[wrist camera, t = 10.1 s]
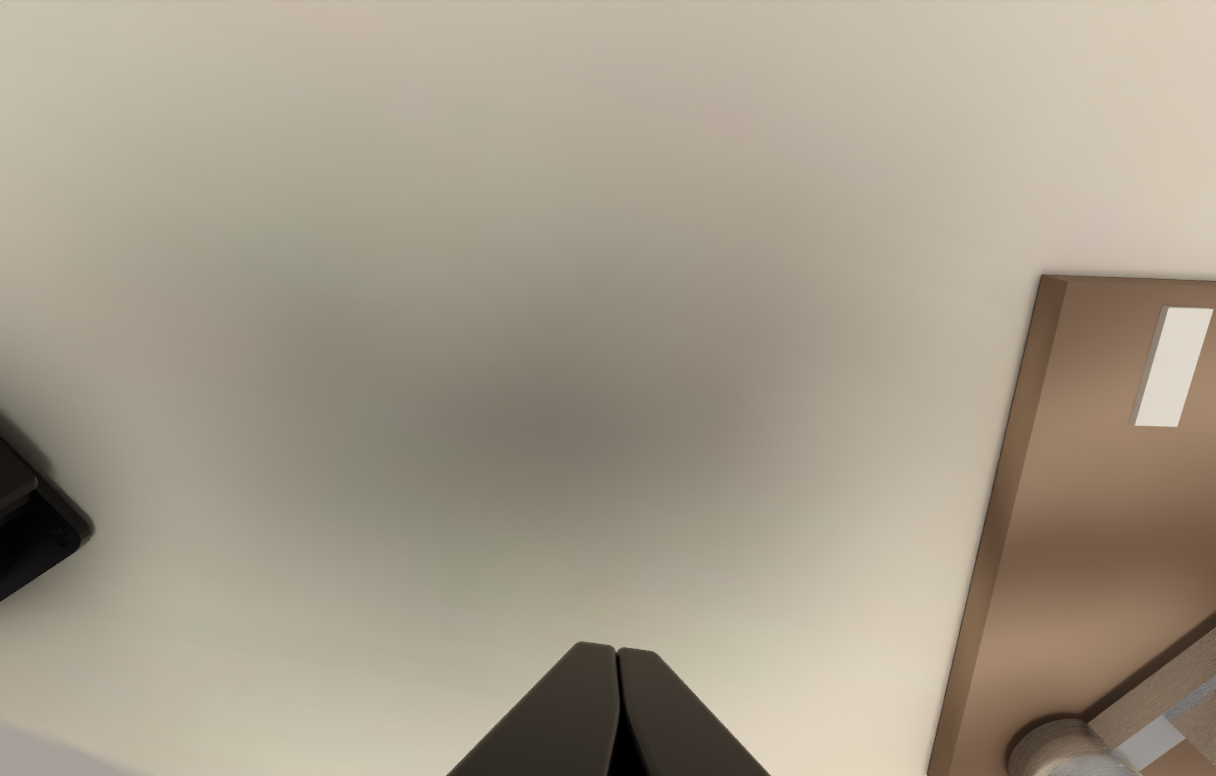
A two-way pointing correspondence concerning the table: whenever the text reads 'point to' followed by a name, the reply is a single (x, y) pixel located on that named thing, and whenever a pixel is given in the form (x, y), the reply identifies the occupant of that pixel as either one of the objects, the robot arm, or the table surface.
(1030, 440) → the board
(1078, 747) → the lever
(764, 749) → the table surface
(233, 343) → the table surface
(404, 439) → the table surface
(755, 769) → the robot arm
